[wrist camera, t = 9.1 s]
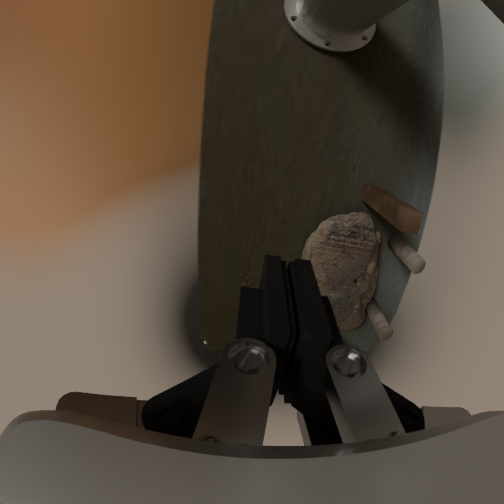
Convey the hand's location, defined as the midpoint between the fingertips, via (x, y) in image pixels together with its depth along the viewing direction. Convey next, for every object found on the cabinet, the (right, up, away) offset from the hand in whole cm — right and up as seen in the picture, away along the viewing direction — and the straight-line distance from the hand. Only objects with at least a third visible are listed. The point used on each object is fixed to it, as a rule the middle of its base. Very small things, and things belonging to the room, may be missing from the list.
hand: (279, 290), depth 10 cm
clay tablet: (+12, -1, +31) cm, 33 cm away
